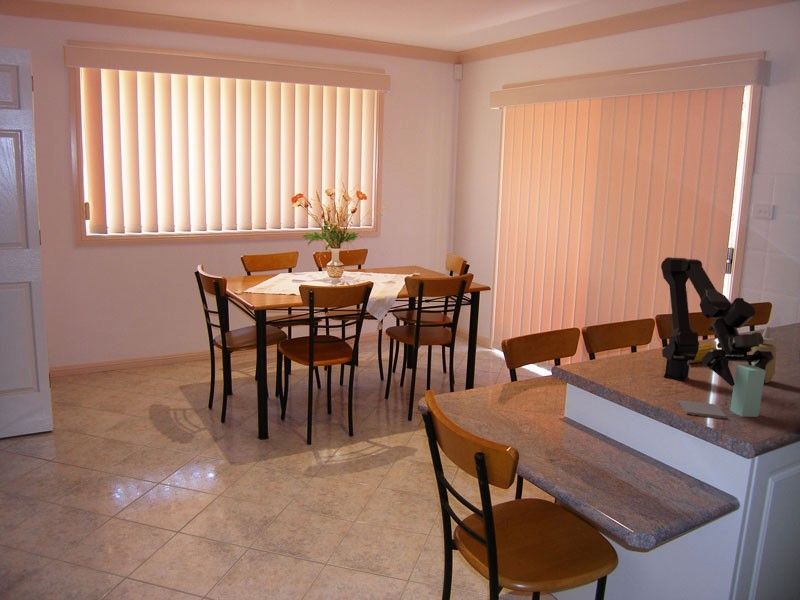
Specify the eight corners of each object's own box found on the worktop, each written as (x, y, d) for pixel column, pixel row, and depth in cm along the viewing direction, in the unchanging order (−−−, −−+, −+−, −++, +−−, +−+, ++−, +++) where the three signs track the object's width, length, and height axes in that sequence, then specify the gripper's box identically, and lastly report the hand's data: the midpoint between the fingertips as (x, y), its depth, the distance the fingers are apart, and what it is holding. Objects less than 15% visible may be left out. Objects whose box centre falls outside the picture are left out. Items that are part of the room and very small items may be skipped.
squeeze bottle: (770, 379, 220) (779, 326, 217) (775, 386, 212) (784, 331, 209) (743, 375, 223) (752, 323, 219) (747, 382, 215) (756, 327, 212)
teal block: (729, 410, 186) (736, 365, 183) (746, 410, 186) (753, 365, 184) (741, 416, 181) (749, 370, 178) (758, 416, 182) (765, 370, 179)
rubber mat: (678, 402, 189) (678, 400, 189) (715, 407, 188) (716, 404, 187) (686, 414, 180) (686, 411, 179) (726, 419, 178) (726, 416, 178)
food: (703, 356, 246) (706, 341, 245) (718, 360, 242) (720, 344, 241) (671, 363, 234) (673, 346, 233) (686, 367, 230) (688, 350, 229)
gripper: (713, 320, 183) (733, 371, 174) (774, 322, 186) (797, 371, 177) (693, 341, 192) (711, 390, 183) (751, 343, 195) (772, 391, 186)
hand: (748, 385), depth 182 cm, fingers open, 9 cm apart
